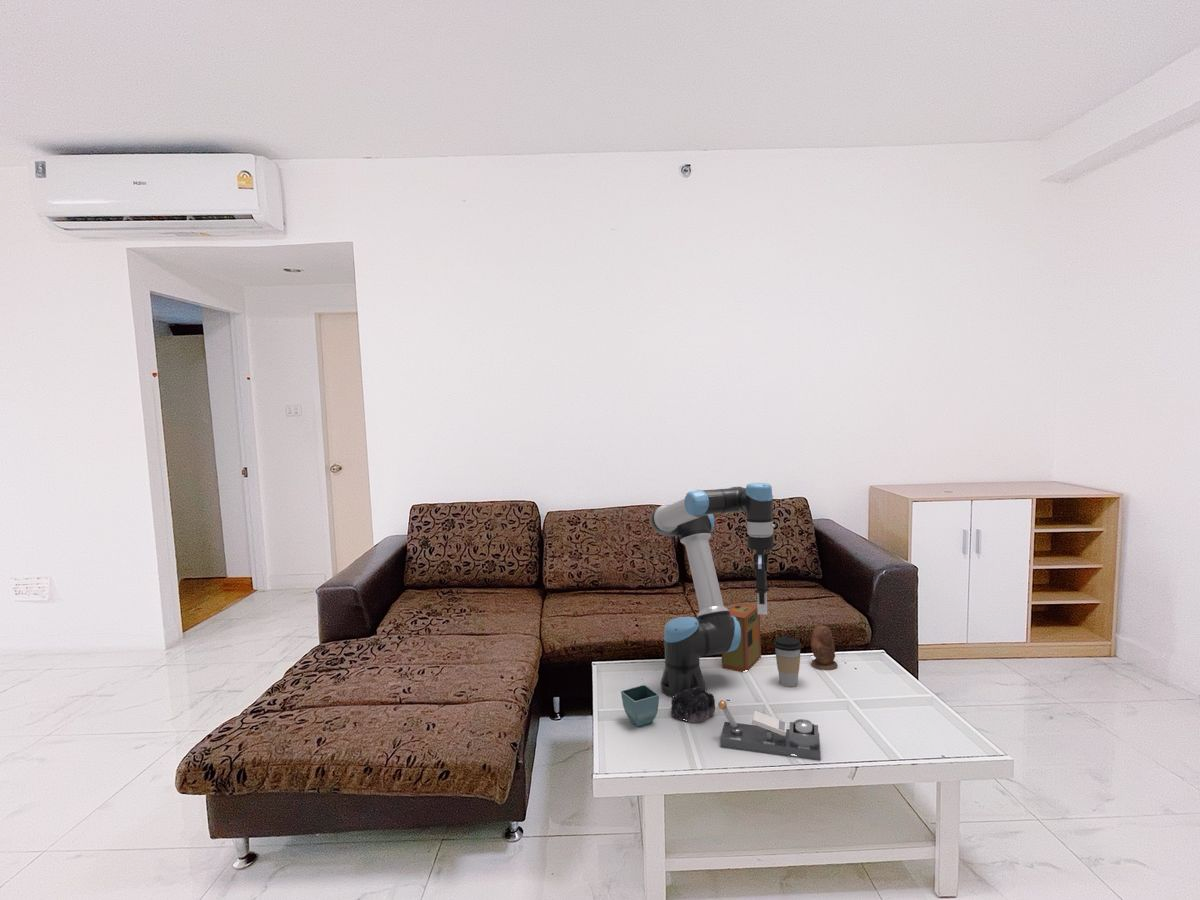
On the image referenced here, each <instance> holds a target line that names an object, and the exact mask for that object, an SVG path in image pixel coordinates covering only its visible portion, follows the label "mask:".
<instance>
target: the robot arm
mask: <svg viewBox="0 0 1200 900" xmlns="http://www.w3.org/2000/svg"><path fill="white" fill-rule="evenodd" d="M772 488H773V487H772V485H771V484H770V483H768V482H752V483H751V482H750V483H747V484H746V486H745V487H742V486H730V487H729V488H719V489H704V490H703V489H701V490H700V489H696V490H690V491H688V492H687V493H686V495H685V496H684V498H683V499H682V498H681V500H678V501H676V502H674V503H671V504H662V505H660V506H658V507H655V508H654V510H653V511H652V512H651V514H650V518H649V521H650V525H651V528H652V529H653V530H654V532H656V533H657V534H659V535H662V536H664V537H679V541H680V543H681V544H682V545H684V546H685V549H686V554H687V555H686V556H687V560H688V563H689V569H690V572H691V577H692V581H693V586H694V591H695V595H696V600H697V604H698V609H699V612H698V613H697V615H696V617H694V616H680V617H679V616H678V617H675V618H672V619H670V620H669V621H668V622H666V623H665V625H664V631H663V640H664V641H663V642H664V643H663V645H664V646H663V647H664V663H665V664H664V670H663V672H662V676H661V680H660V691H661V692H662V693H663V694H664V695H666V696H669V697H672V698H673V696H675V695H677V694H678V693H680V692H682V691H684V690H687V689H690V688H694V687H695V686H700V687H701V688H703V689H704V690H705V691H707V690H706V680H705V678H704V675H703V672H702V669H701V665H700V658H701V657H708V656H713V655H722V653H727V652H731V651H734V650H736V649H737V648H738V646H739V644H740V641H741V628H740V624H739V622H738V621H737V618H736V617H734V616H730V611H729V610H728V609H729V608H726V607H725V606H724V601H723V598H722V597H723V596H722V592H721V588H720V585H719V580H718V576H717V572H716V567H715V563H714V559H713V554H712V551H711V546H710V542H709V540H710V539H711V537H712V532H713V531H714V529H715V518H714V515H716V514H727V513H729V514H730V513H746V533H747V534H748V536H747V548H748V549H749V550H753V551H755V552H756V553H754V555H753V561H754V570H755V579H756V580H755V582H756V589H755V590H754V593H755V594H756V597H757V598H756V602H757V604H756V605H757V608H758V614H760V615H768V593H767V592H769V591H770V588H768V583H767V581H768V580H767V570H768V559H769V554H768V553H766V551H770V550H772V549H774V548H775V547H774V546H775V545H774V541H775V540H774V536H773V534H774V528H776V524H774V513H773V512H774V511H773V509H774V508H773V507H774V506H773V503H774V501H773V500H774V496H773V489H772Z"/></svg>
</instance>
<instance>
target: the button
mask: <svg viewBox="0 0 1200 900" xmlns="http://www.w3.org/2000/svg"><path fill="white" fill-rule="evenodd" d="M794 722H795V733H801V734H809V735H812V724H813V723H812V721H810V720H808V719H803V718H800V719H796V720H794Z"/></svg>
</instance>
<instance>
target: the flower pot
mask: <svg viewBox="0 0 1200 900" xmlns="http://www.w3.org/2000/svg"><path fill="white" fill-rule="evenodd" d="M620 695H621V700H622V706H623V709H624V712H625V714H626V716H627V718H628V719H629V721H631V722H632V723H633V724H634V725H635V726H637V727H641V726H646V725H648V724H651V723H653V722H654V720H655V718H656V717H657V714H658V710H659V703H660V702H659V701H660V700H659V699H660V694H659V693H657V692H656V691H655V690H653V689H652V688H650V687H649V686H648V685H646V684H641V685H638V686H635V687H631V688H628V689H623V690H621V691H620Z"/></svg>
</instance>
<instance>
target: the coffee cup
mask: <svg viewBox="0 0 1200 900" xmlns="http://www.w3.org/2000/svg"><path fill="white" fill-rule="evenodd" d="M772 646H773V648H775V658H776V659H775V660H776V667H777V671H778V678H779V684H780V685H781V686H783V687H786V688H794V687H796V686H798V685H799V684H798V682H799V673H800V662H801V649H802V648H803V646H802V643H801V642H800V639H798V638H797V637H793V636H787V635H786V636H785V635H784V636H778V637H776V638H775V640H774V641H773V644H772Z"/></svg>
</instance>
